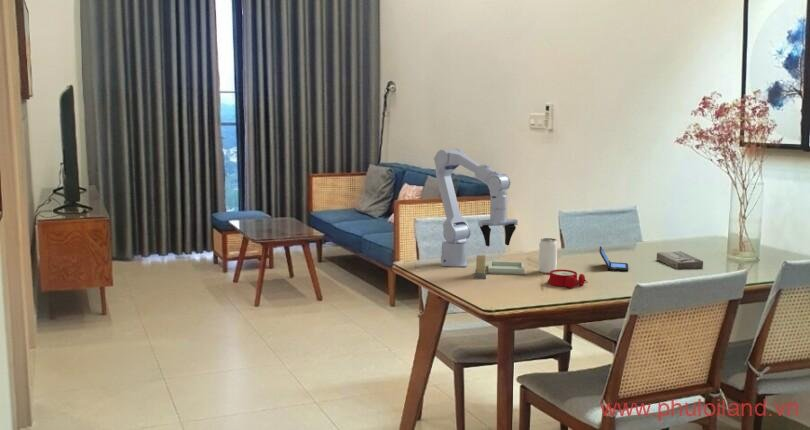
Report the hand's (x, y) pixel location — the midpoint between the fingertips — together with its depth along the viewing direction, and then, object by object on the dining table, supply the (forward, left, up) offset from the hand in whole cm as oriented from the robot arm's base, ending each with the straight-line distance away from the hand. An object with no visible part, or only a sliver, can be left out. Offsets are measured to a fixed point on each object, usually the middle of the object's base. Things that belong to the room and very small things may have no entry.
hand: (497, 245), depth 282 cm
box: (+69, +28, -11) cm, 76 cm away
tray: (+3, +5, -10) cm, 12 cm away
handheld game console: (+43, +17, -11) cm, 48 cm away
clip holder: (-6, -5, -10) cm, 13 cm away
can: (+18, +6, -10) cm, 22 cm away
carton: (-6, -5, -10) cm, 13 cm away
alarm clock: (+24, -13, -11) cm, 30 cm away
